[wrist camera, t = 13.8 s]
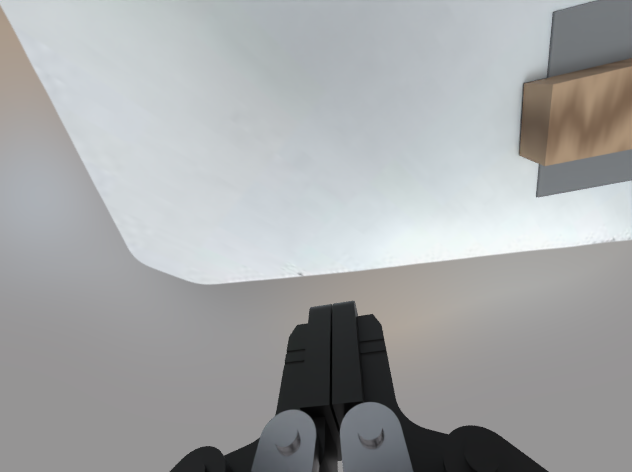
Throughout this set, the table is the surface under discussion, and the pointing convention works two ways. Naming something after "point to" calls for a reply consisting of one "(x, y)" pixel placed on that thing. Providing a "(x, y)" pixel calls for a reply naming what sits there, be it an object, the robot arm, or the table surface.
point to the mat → (578, 54)
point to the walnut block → (578, 114)
